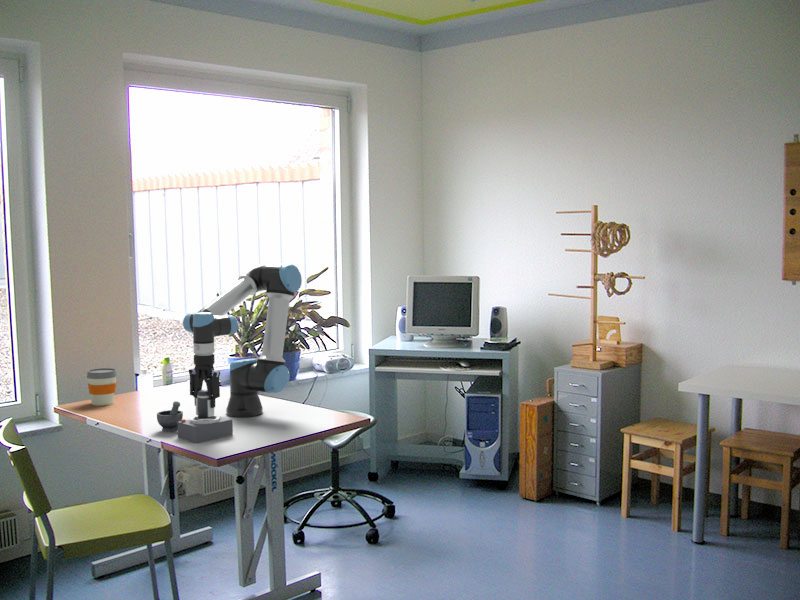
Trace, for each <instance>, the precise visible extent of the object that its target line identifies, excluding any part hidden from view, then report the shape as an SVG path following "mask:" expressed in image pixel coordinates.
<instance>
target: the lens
mask: <svg viewBox="0 0 800 600" xmlns="http://www.w3.org/2000/svg"><path fill="white" fill-rule="evenodd" d="M197 398H198V415H197V416H198V418H199V419H209V418H212V416H211V417H208V399H209V395H208V390H207V389H202V390H199V391H197Z"/></svg>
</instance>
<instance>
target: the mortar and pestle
mask: <svg viewBox="0 0 800 600" xmlns="http://www.w3.org/2000/svg"><path fill="white" fill-rule="evenodd" d="M180 406H181V403H180V402H179V401H178V400H177V401H173V402H172V407H171V409H169V410H168V409H167V410H161V411H158V412H157V413H156V420H157V423H158V424H159V426H160V427H161V431H162V432H163V433H174V432H175V433H176V432H178V422H179V421H181V419H184V417H183V416H184V413H183V411H182V410H179V408H180Z"/></svg>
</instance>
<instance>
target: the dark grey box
mask: <svg viewBox="0 0 800 600" xmlns="http://www.w3.org/2000/svg"><path fill="white" fill-rule="evenodd" d="M233 426H234V425H233V419H231V418H229V417H225V416H221V415H217V414H214V416H212V418H209V419H199V418H198V415H195V416H194V415H193V416H191V417H190V418H188V419H186V418H182V419H181V421H179V422H178V431H177V438H178V439H181V440H184V441H187V442H190V443H193V444H199V443H203V442H207V441H213V440H216V439H222V438H226V437H230V436H233V435H234V433H233V431H234V430H233V428H234V427H233Z"/></svg>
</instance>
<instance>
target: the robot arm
mask: <svg viewBox="0 0 800 600" xmlns="http://www.w3.org/2000/svg"><path fill="white" fill-rule="evenodd" d="M302 280H303V279H302V274H301V271H300V269H299V268H298V267H297V266H296V265H294V264H291V263H285V262H283V263H282V262H281V263H280V262H276V263H274V262H273V263H272V262H270V263H269V262H264V263H260V264H257V265H255V266H253V267H252V268H250V269H248V270H247V271H245V272H244V273H242V274H241V275H240V276H239V277H238V279H237V281H236V282H235V283H233V284H232V285H231V286H230V287H228V288H227V289H226V290H224V291H223V292H222V293H220V295H218V296H217V297H216V298H214V299H213V300H211V301H210V302H209V303H207V304H206V305H205V306H204V307H202V309H200V310H198V311H197V312H192V313H188V314H186V315H184V317H183V319H182V325H183V329H184V330H185V332H188V333H193V336H192V339H193V341H192V342H193V344H192V345H193V364H194V368H191V369H188V373H189V395H190V396H192V397H193V398H194V406H195V416H198V398H197V391H199V390H203V389H202V388H203V385H204V382H205V384H206V390H208V395H209V399H208V417H211V416H214V415H215V408H216V399H218V398H220V396H221V393H220V391H221V390H220V375H221V371H219V370H218V371H217V370H215V368H214V365H215V354H214V353H215V337H221V336H229V335H232V334H235V333H236V332H237V330H238V327H239V322H238V319H237V318H236V317H235V316H234V315H231V314H228V313H229V312H230V311H231V310H232V309H234V308H235V307H236V306H237V305H238V304H240V303H242V302H243V301H244V300H245V299H247V298H248V297H249V296H253V295H255V294H256V293H259V292H261V291H262V292H263V291H266V292H265V294H266V296H267V298H268V305H267V312H266V313H267V314H266V321H265V327H264V335H263V342H262V350H261V354H260V356H259V357H257V358H245V359H244V358H243V359H238V360H233V361H232V362H230V365H229V390H230V391H229V392H230V394H229V399H228V404H227V407H226V410H225V411H226V413H225V414H226V416H229V417H234V418H235V417H236V418H249V417H256V416H260V415H262V414H263V412H264V411H263V405H262V402H261V399H260V396H259V392H262V393H267V394H279V393H281V392H283V391H284V389H285V388H287V386H288V384H289V381H290V375H291V373H290V371H289V368H288V367H287V366H286V360H285V359H284V358H283V354H284V347H285V341H286V330H287V325H288V324H287V323H288V316H289V309H290V303H291V300H292V299H294V298H295V293H296V292H298V291H299V290H300V288H301V287H302Z"/></svg>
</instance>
